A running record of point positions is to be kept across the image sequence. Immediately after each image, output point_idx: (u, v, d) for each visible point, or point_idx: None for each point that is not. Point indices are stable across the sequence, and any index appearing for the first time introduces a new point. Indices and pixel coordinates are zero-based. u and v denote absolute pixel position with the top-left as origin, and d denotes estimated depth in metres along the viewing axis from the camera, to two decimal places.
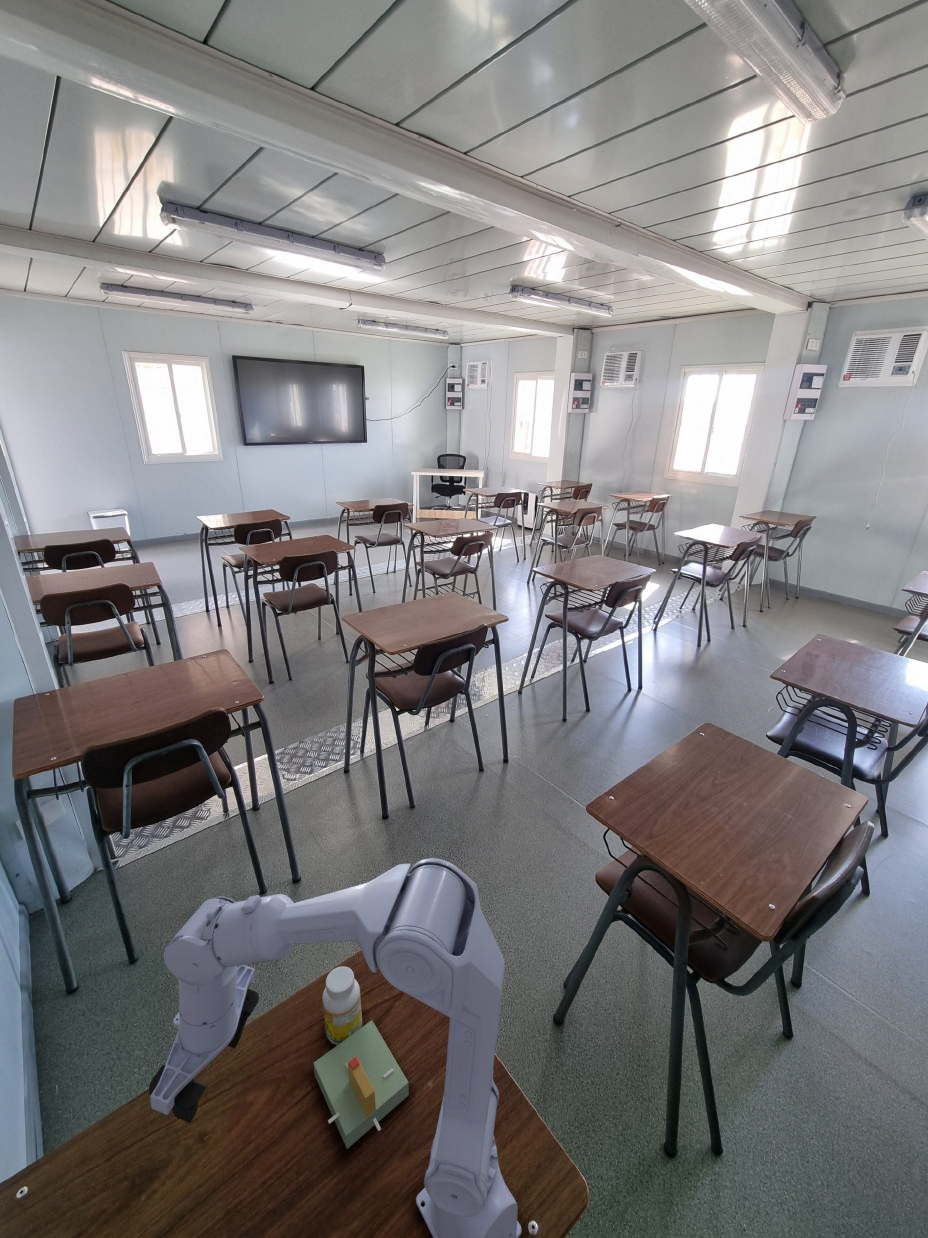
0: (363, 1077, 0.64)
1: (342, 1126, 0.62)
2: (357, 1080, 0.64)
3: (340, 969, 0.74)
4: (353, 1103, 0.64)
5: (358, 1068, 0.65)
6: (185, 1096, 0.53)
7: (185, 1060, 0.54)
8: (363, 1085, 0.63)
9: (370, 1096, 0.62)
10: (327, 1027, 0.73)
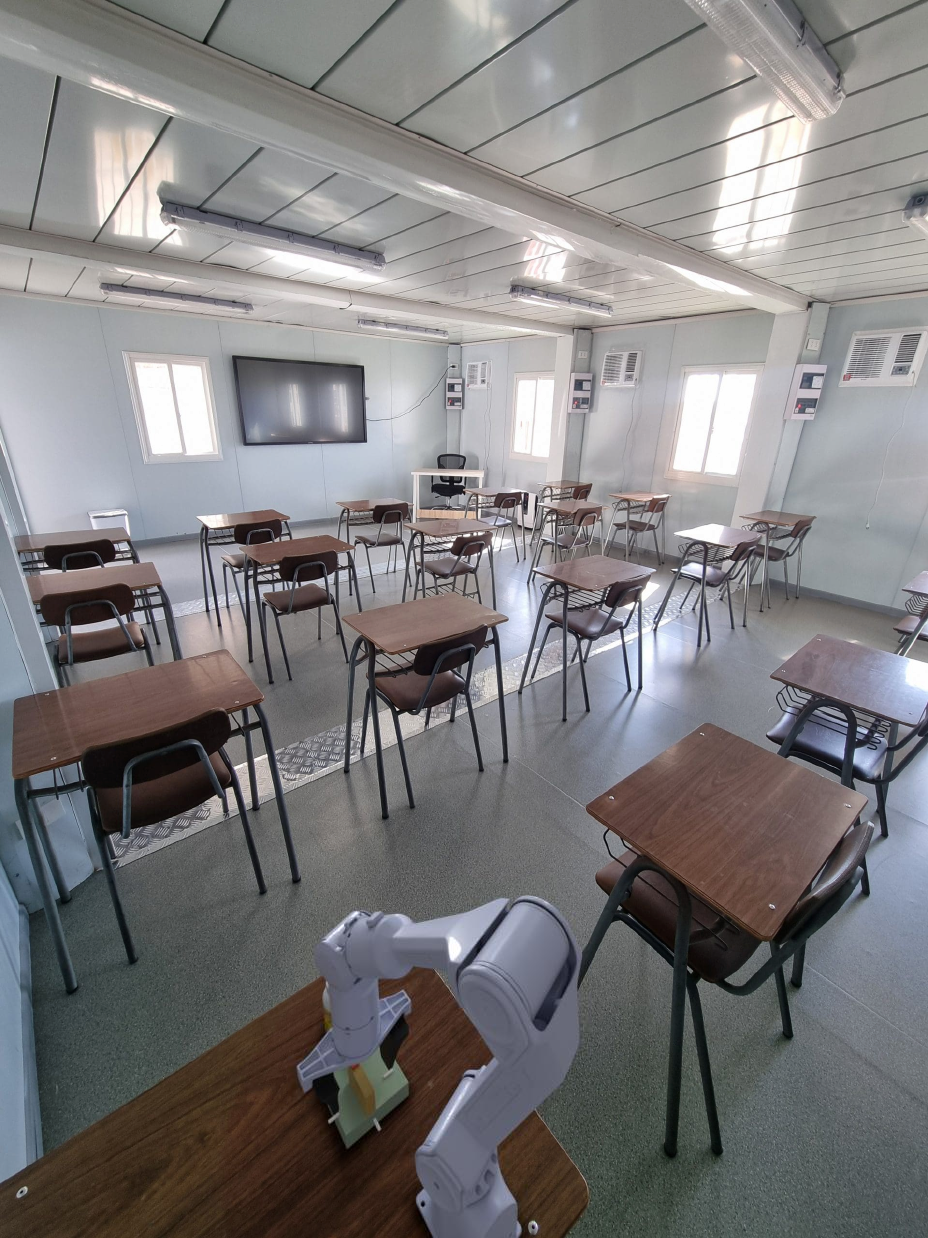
0: (363, 1077, 0.64)
1: (342, 1126, 0.62)
2: (357, 1080, 0.64)
3: None
4: (353, 1103, 0.64)
5: (358, 1068, 0.65)
6: (322, 1086, 0.58)
7: (329, 1052, 0.59)
8: (363, 1085, 0.63)
9: (370, 1096, 0.62)
10: (327, 1027, 0.73)
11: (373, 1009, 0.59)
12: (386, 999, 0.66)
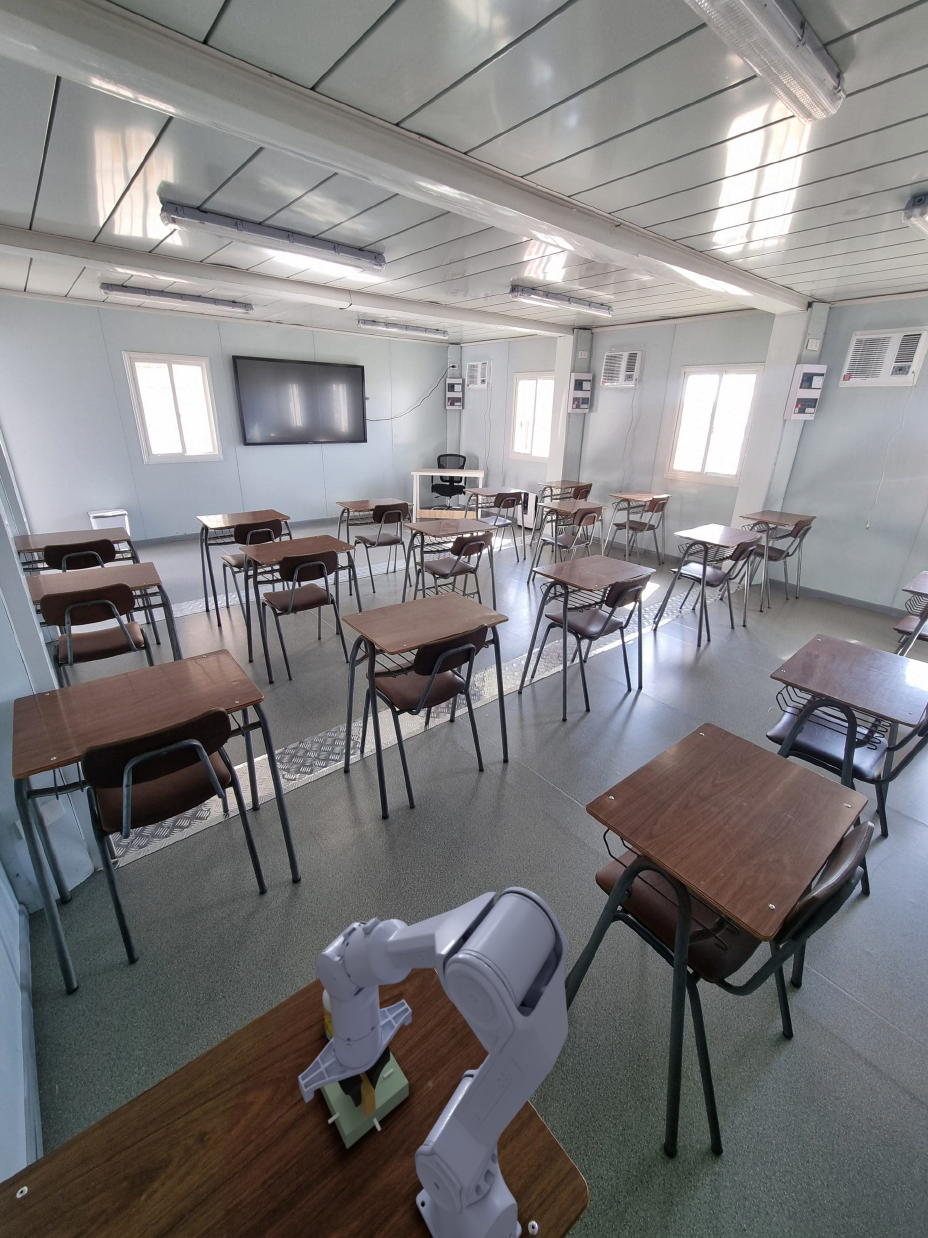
0: (363, 1077, 0.64)
1: (342, 1126, 0.62)
2: None
3: None
4: (353, 1103, 0.64)
5: None
6: (346, 1078, 0.60)
7: (330, 1062, 0.60)
8: (363, 1085, 0.63)
9: (370, 1096, 0.62)
10: (327, 1027, 0.73)
11: (374, 1020, 0.59)
12: (387, 1009, 0.66)
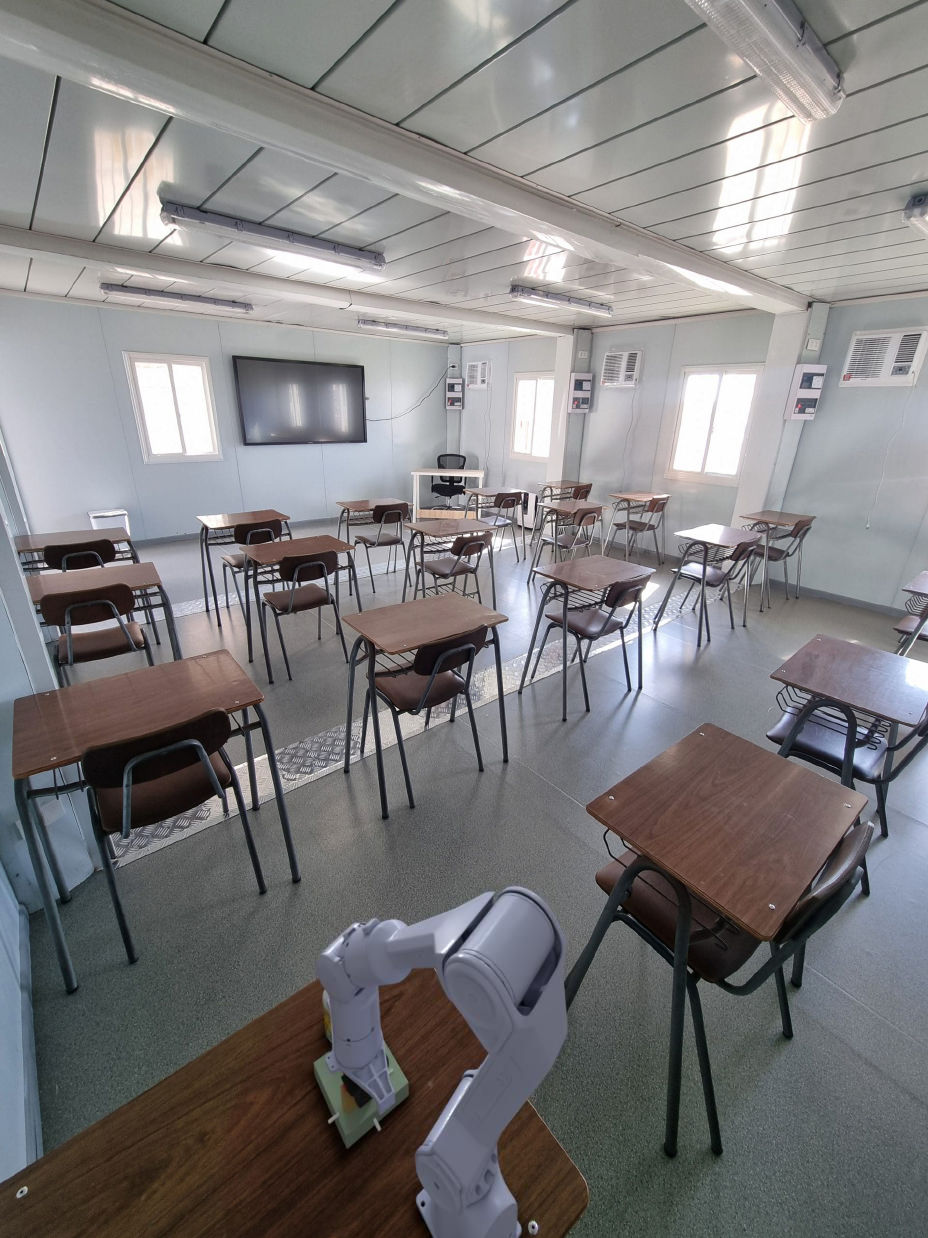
0: None
1: (342, 1126, 0.62)
2: None
3: None
4: None
5: None
6: None
7: (372, 1068, 0.60)
8: None
9: None
10: (327, 1027, 0.73)
11: (374, 1020, 0.59)
12: None
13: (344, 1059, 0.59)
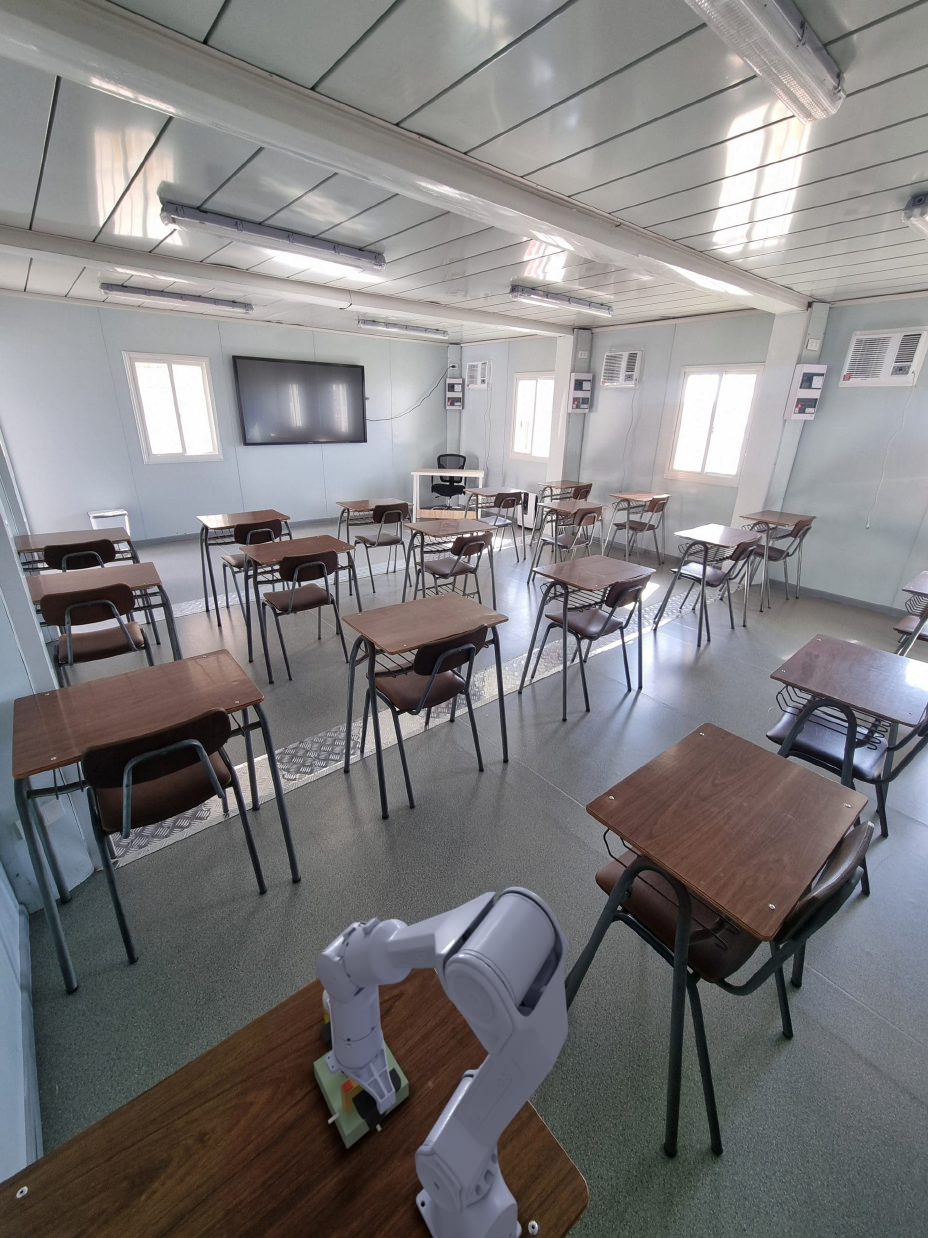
0: None
1: (342, 1126, 0.62)
2: None
3: None
4: None
5: (352, 1080, 0.64)
6: None
7: (372, 1068, 0.59)
8: None
9: None
10: None
11: (374, 1020, 0.59)
12: None
13: (344, 1059, 0.59)
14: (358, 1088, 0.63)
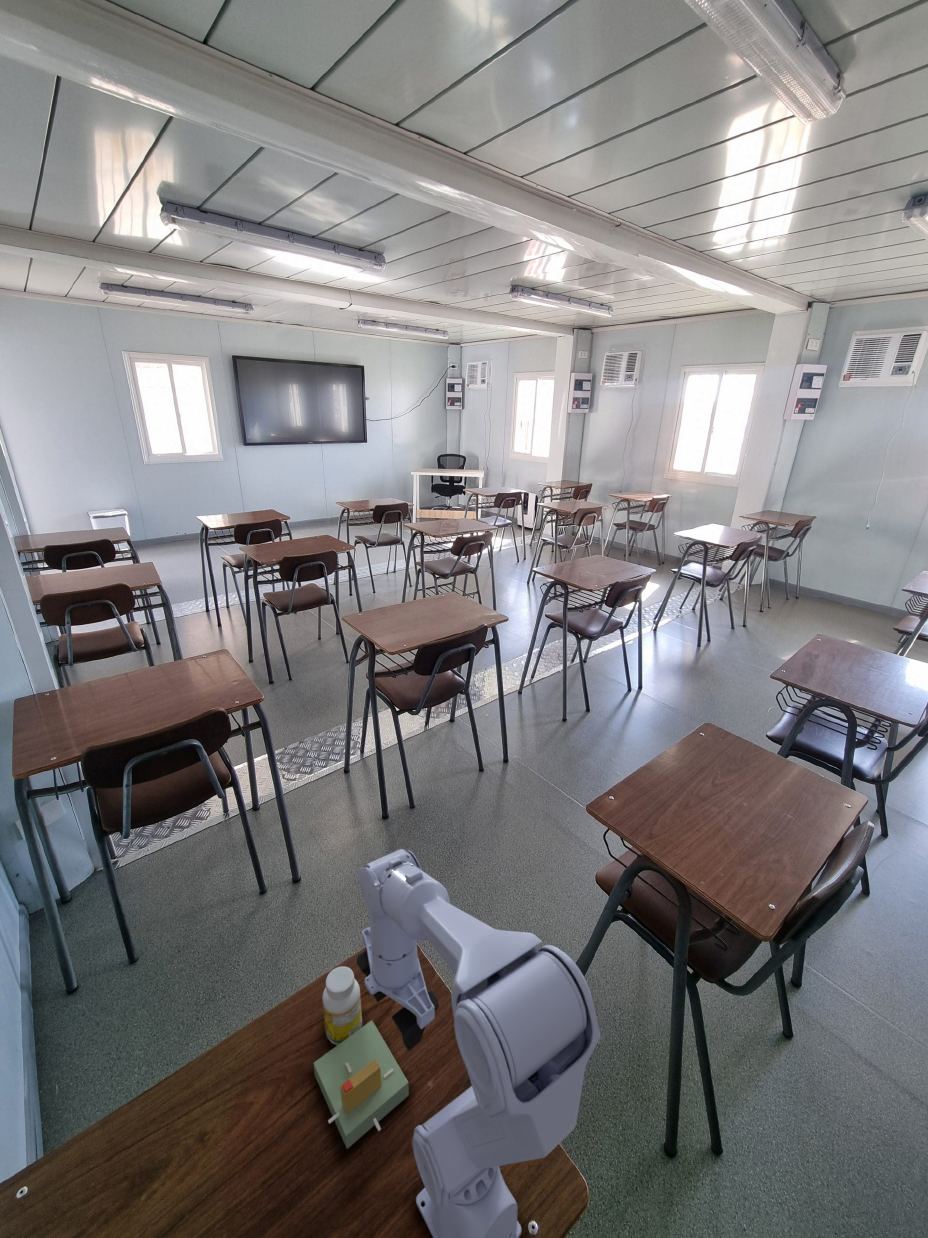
0: (361, 1073, 0.64)
1: (342, 1126, 0.62)
2: (363, 1079, 0.64)
3: (340, 969, 0.74)
4: None
5: (352, 1080, 0.64)
6: None
7: (411, 988, 0.61)
8: (368, 1071, 0.64)
9: (377, 1064, 0.66)
10: (327, 1027, 0.73)
11: (406, 947, 0.60)
12: (368, 945, 0.67)
13: (384, 979, 0.61)
14: (358, 1088, 0.63)
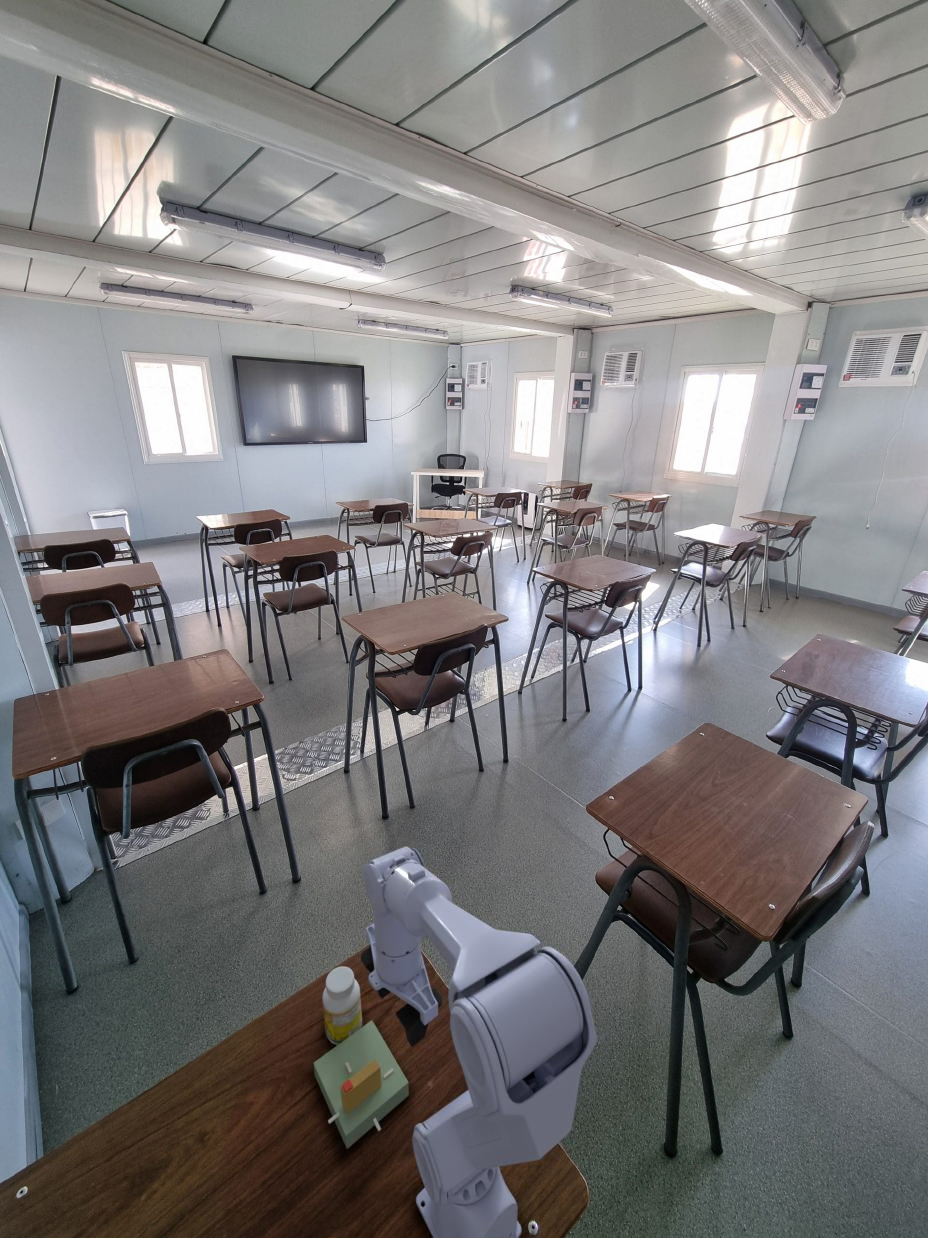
0: (361, 1073, 0.64)
1: (342, 1126, 0.62)
2: (363, 1079, 0.64)
3: (340, 969, 0.74)
4: None
5: (352, 1080, 0.64)
6: None
7: (414, 984, 0.62)
8: (368, 1071, 0.64)
9: (377, 1064, 0.66)
10: (327, 1027, 0.73)
11: (409, 944, 0.61)
12: (372, 941, 0.67)
13: (388, 975, 0.61)
14: (358, 1088, 0.63)
